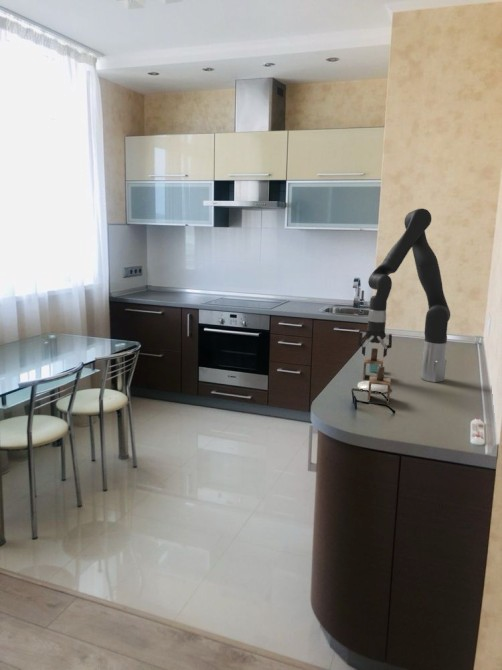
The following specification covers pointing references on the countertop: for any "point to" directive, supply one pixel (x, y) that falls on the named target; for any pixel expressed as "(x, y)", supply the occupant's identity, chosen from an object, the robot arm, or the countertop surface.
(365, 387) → the saucer
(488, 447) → the countertop surface
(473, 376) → the countertop surface
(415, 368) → the countertop surface
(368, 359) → the brown forked piece
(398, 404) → the countertop surface
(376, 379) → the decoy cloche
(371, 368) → the block
